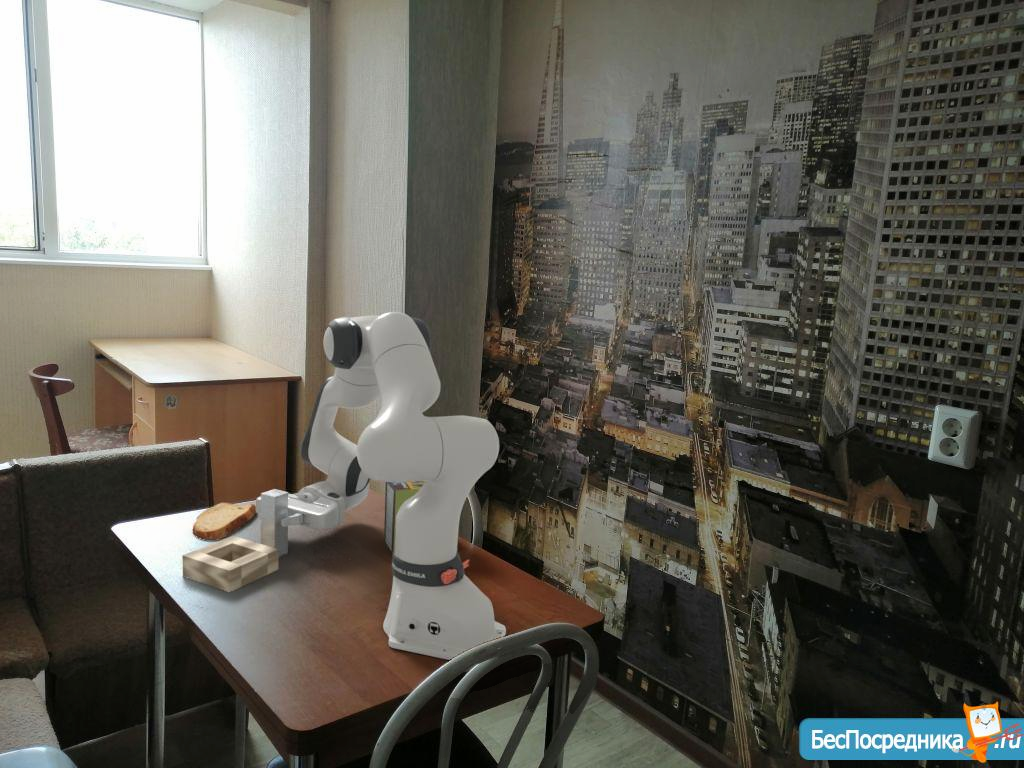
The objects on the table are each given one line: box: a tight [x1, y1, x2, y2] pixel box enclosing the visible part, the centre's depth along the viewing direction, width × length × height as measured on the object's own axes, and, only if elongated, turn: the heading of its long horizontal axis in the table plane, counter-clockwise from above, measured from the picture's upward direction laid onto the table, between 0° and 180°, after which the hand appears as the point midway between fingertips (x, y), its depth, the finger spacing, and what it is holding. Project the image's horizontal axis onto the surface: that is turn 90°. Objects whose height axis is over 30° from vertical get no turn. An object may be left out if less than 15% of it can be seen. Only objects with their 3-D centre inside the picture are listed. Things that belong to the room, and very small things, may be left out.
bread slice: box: [192, 501, 257, 541], centre depth 180 cm, size 18×18×4 cm
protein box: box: [383, 480, 459, 555], centre depth 173 cm, size 10×15×16 cm
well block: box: [182, 535, 279, 593], centre depth 154 cm, size 13×13×4 cm
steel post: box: [260, 488, 289, 558], centre depth 163 cm, size 4×4×14 cm
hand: (271, 520), depth 162 cm, fingers closed on steel post, 4 cm apart
